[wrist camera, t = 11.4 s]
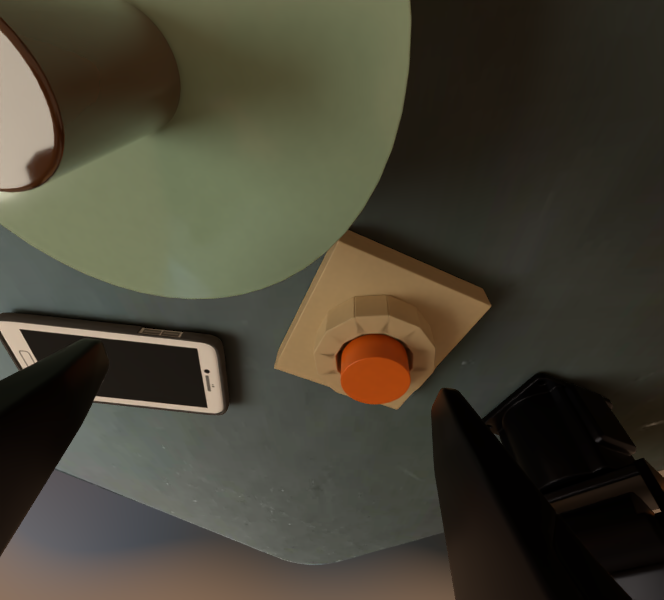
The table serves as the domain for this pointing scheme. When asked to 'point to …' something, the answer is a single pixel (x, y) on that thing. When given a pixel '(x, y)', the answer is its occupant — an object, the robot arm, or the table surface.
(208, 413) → the cell phone
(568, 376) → the table surface
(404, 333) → the control block
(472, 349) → the table surface
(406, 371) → the button
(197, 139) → the lid
